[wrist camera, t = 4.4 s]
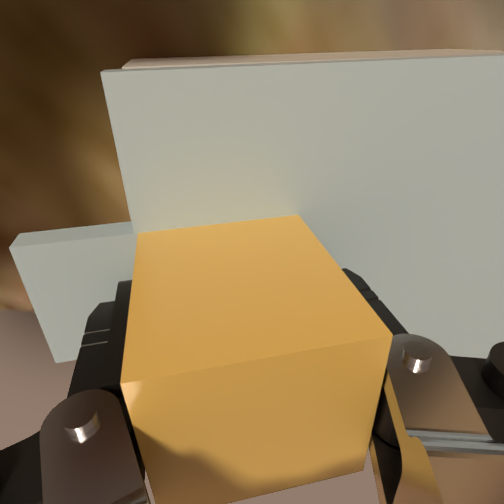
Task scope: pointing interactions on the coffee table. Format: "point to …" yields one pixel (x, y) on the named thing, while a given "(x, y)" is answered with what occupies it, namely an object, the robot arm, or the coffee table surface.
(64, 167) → the coffee table surface
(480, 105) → the lid
